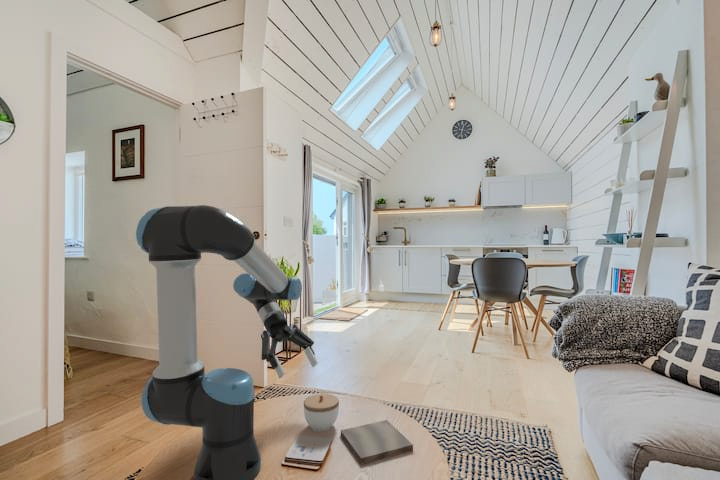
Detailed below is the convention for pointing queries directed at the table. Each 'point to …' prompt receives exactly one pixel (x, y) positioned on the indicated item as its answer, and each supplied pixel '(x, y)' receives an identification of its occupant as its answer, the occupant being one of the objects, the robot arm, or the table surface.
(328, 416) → the lidded jar
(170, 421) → the robot arm
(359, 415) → the table surface
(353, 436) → the brown metal plate
